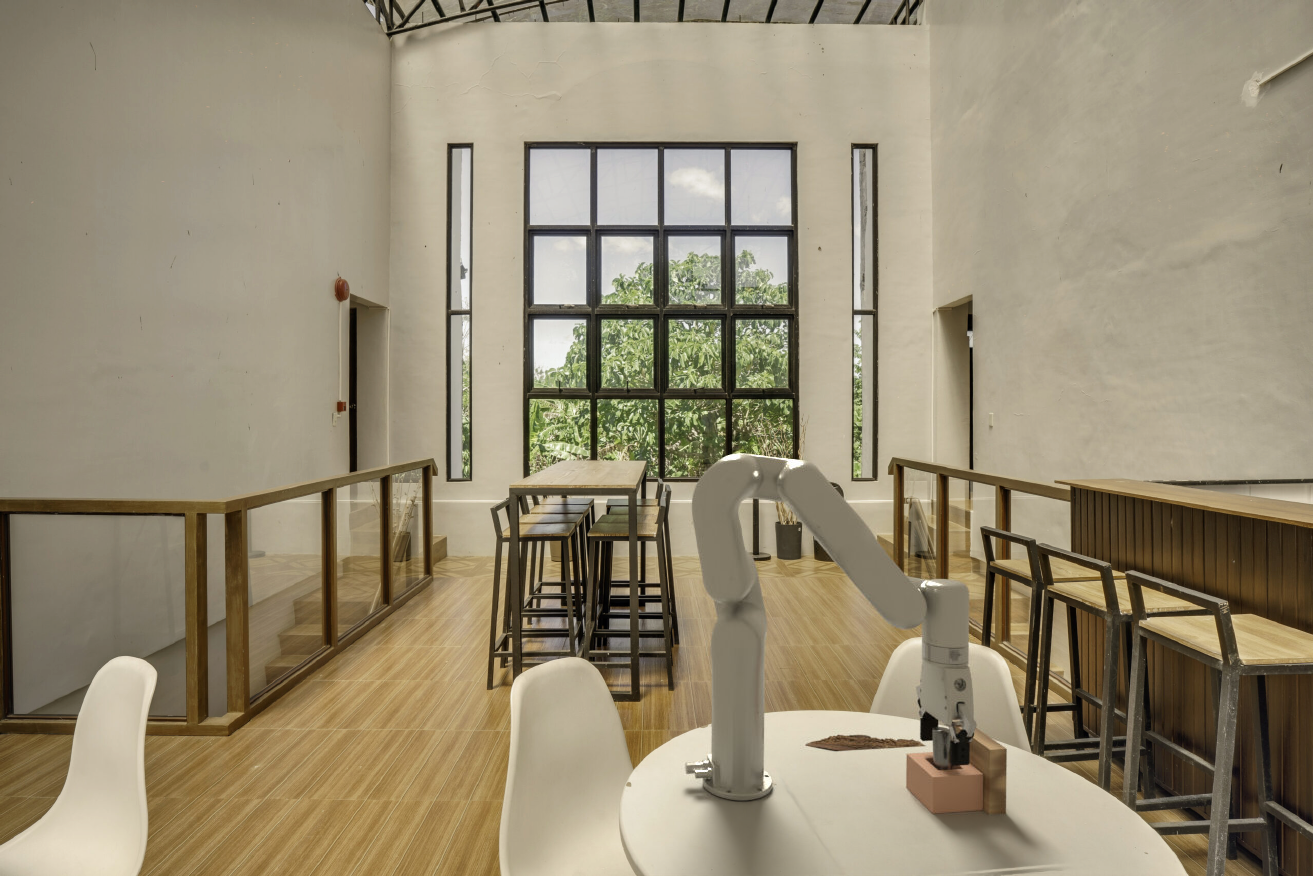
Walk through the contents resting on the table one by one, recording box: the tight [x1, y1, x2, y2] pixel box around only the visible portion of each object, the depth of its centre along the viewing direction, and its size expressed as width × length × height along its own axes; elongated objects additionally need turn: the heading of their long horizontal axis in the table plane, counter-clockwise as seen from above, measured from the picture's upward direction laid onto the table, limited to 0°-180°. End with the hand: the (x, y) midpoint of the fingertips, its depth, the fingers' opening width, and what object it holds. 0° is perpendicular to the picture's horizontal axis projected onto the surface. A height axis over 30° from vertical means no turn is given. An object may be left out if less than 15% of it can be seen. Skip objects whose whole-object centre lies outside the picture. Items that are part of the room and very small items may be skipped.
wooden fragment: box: [805, 734, 926, 752], centre depth 149 cm, size 26×11×1 cm, turn 79°
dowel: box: [932, 726, 952, 770], centre depth 125 cm, size 3×3×12 cm
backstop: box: [951, 720, 1008, 816], centre depth 126 cm, size 3×12×11 cm, turn 8°
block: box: [905, 751, 984, 814], centre depth 126 cm, size 9×9×6 cm
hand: (943, 752), depth 126 cm, fingers open, 9 cm apart
